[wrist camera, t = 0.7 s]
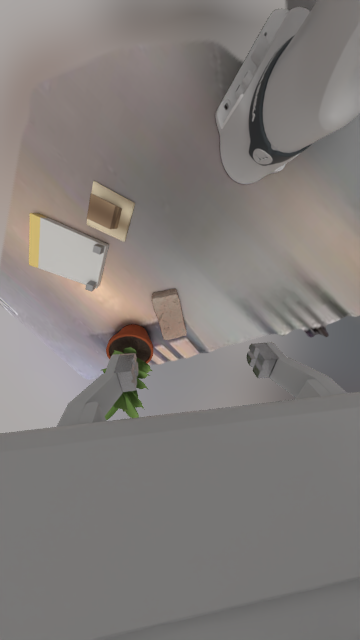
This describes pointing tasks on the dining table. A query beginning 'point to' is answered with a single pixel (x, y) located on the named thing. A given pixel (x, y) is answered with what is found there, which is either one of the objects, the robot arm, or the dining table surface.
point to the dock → (66, 251)
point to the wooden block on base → (109, 212)
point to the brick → (169, 313)
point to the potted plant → (141, 345)
